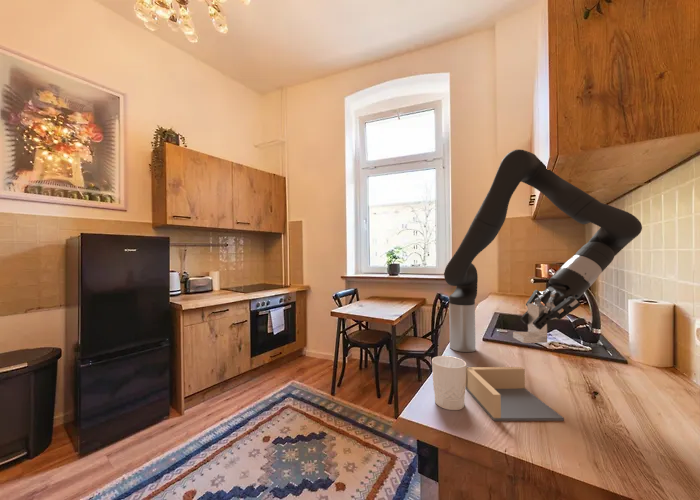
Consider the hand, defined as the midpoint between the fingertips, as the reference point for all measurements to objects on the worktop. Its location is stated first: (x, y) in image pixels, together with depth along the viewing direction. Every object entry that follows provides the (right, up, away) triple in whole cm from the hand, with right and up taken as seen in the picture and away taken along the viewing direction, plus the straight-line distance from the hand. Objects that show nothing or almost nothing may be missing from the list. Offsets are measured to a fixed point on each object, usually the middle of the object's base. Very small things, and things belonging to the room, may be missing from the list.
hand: (529, 324), depth 73 cm
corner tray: (-8, -18, -5) cm, 20 cm away
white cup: (-22, -18, -5) cm, 29 cm away
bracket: (0, -4, 0) cm, 4 cm away
